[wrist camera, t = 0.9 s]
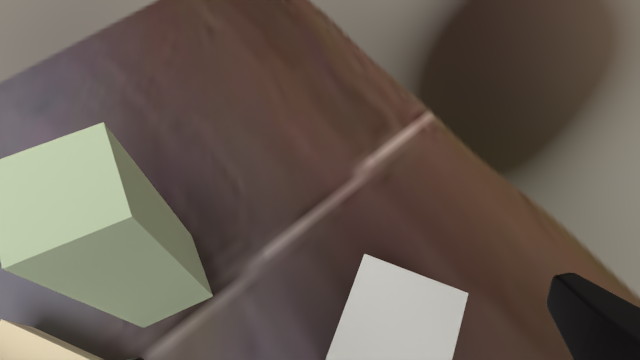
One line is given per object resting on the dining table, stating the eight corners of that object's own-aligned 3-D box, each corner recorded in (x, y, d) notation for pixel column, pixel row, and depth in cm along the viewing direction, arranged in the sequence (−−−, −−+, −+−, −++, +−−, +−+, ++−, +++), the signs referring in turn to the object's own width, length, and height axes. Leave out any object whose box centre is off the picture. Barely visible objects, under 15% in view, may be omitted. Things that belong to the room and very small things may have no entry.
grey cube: (416, 407, 22) (440, 408, 18) (324, 367, 23) (325, 359, 19) (441, 313, 25) (468, 293, 20) (356, 279, 25) (364, 253, 21)
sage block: (213, 296, 25) (132, 216, 14) (143, 327, 24) (1, 269, 13) (191, 235, 27) (103, 122, 16) (125, 263, 26) (-14, 164, 15)
